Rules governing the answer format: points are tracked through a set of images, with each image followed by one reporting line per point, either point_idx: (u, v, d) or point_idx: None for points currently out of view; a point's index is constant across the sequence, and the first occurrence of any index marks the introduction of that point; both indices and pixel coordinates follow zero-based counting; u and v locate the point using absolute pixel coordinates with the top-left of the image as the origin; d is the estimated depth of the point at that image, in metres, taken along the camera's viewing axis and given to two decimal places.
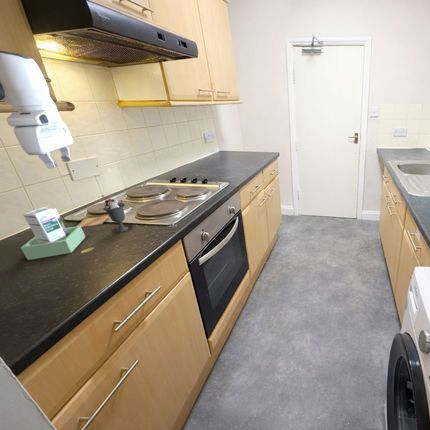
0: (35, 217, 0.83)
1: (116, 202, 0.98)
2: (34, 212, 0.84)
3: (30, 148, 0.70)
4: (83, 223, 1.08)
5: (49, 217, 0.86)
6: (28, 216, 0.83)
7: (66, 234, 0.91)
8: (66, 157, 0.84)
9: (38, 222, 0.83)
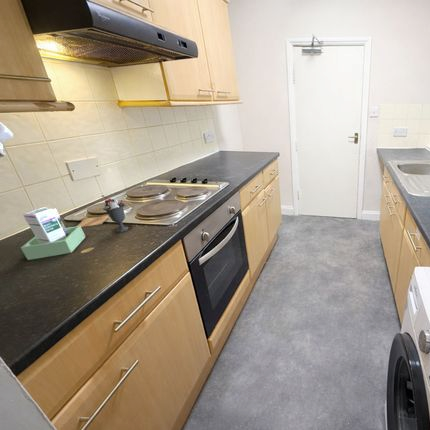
0: (35, 217, 0.83)
1: (116, 202, 0.98)
2: (34, 212, 0.84)
3: (7, 128, 0.74)
4: (83, 223, 1.08)
5: (49, 217, 0.86)
6: (28, 216, 0.83)
7: (66, 234, 0.91)
8: None
9: (38, 222, 0.83)
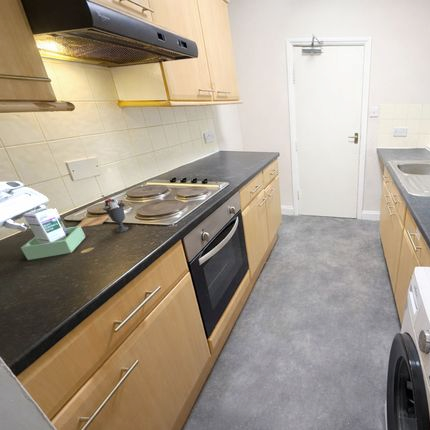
0: (35, 217, 0.83)
1: (116, 202, 0.98)
2: (34, 212, 0.84)
3: None
4: (83, 223, 1.08)
5: (49, 217, 0.86)
6: (28, 216, 0.83)
7: (66, 234, 0.91)
8: None
9: (38, 222, 0.83)
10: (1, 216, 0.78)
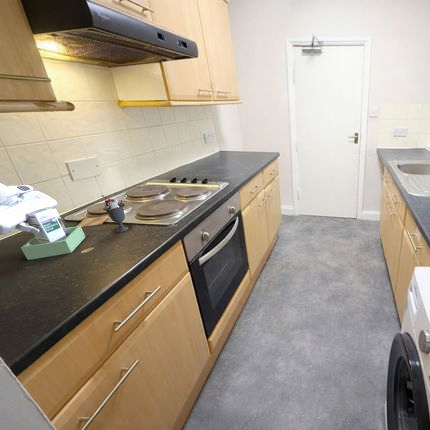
0: (35, 217, 0.83)
1: (116, 202, 0.98)
2: (34, 212, 0.84)
3: None
4: (83, 223, 1.08)
5: (49, 217, 0.86)
6: None
7: (66, 234, 0.91)
8: None
9: (38, 222, 0.83)
10: (13, 220, 0.79)
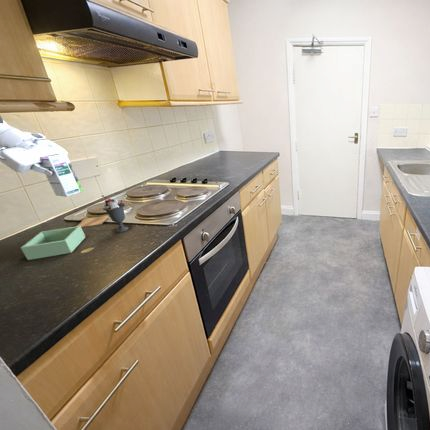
0: (48, 159, 0.90)
1: (116, 202, 0.98)
2: (47, 156, 0.91)
3: None
4: (83, 223, 1.08)
5: (61, 161, 0.93)
6: (42, 159, 0.91)
7: (76, 180, 0.98)
8: None
9: (51, 164, 0.91)
10: (29, 160, 0.87)
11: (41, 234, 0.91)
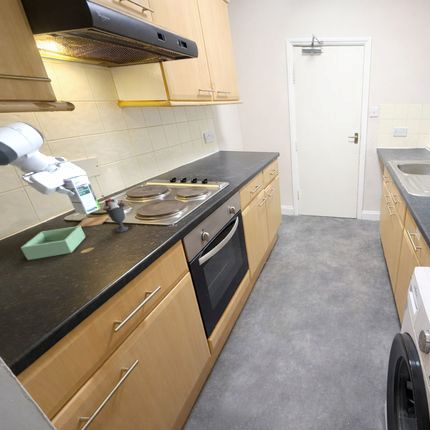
0: (71, 182, 0.99)
1: (116, 202, 0.98)
2: (70, 178, 1.00)
3: None
4: (83, 223, 1.08)
5: (82, 183, 1.03)
6: (65, 181, 1.00)
7: (95, 199, 1.07)
8: None
9: (73, 186, 1.00)
10: (54, 183, 0.96)
11: (41, 234, 0.91)
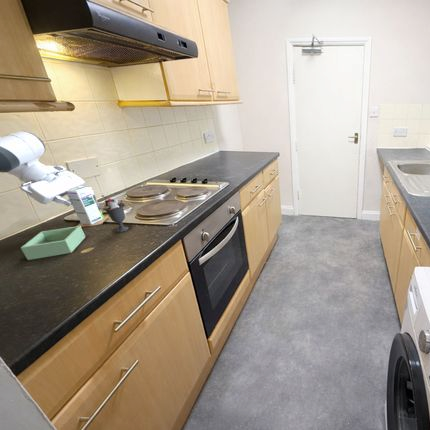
0: (76, 193, 1.01)
1: (116, 202, 0.98)
2: (75, 189, 1.02)
3: None
4: None
5: (87, 194, 1.04)
6: (70, 192, 1.02)
7: (99, 209, 1.09)
8: None
9: (78, 197, 1.02)
10: (52, 192, 0.97)
11: (41, 234, 0.91)
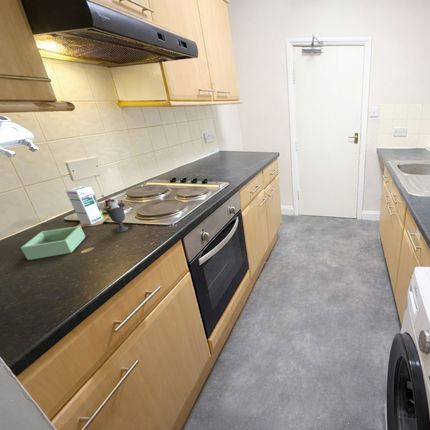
0: (76, 193, 1.01)
1: (116, 202, 0.98)
2: (75, 189, 1.02)
3: None
4: None
5: (87, 194, 1.04)
6: (70, 192, 1.02)
7: (99, 209, 1.09)
8: None
9: (78, 197, 1.02)
10: None
11: (41, 234, 0.91)
